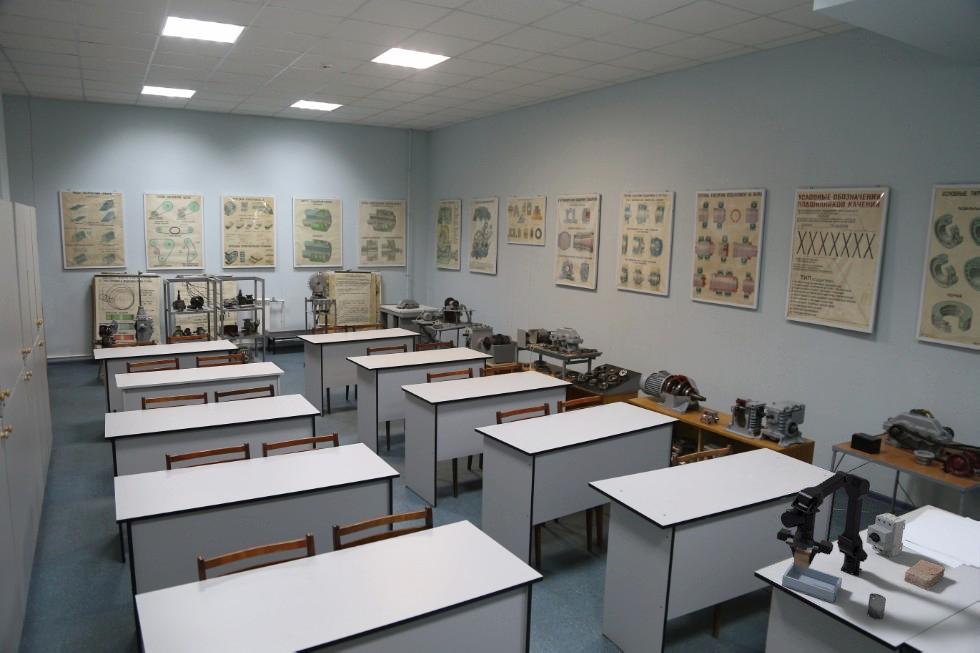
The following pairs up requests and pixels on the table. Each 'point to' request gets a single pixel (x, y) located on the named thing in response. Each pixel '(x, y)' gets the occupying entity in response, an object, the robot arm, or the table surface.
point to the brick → (924, 574)
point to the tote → (812, 582)
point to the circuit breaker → (886, 534)
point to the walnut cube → (802, 558)
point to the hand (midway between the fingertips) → (802, 561)
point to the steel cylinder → (876, 606)
